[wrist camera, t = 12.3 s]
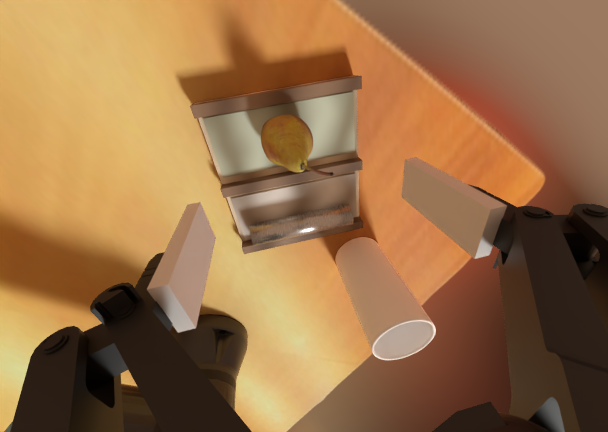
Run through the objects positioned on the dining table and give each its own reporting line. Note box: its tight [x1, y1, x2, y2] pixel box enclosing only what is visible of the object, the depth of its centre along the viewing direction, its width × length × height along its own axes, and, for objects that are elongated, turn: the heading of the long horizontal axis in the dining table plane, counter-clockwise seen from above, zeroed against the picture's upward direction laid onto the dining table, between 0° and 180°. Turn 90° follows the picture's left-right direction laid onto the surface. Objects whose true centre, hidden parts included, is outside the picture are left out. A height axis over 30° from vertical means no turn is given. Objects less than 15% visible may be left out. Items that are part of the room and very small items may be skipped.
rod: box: [249, 204, 354, 246], centre depth 34 cm, size 14×3×3 cm
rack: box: [190, 75, 363, 254], centre depth 31 cm, size 18×20×3 cm
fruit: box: [261, 114, 334, 176], centre depth 23 cm, size 6×6×12 cm
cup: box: [335, 237, 436, 360], centre depth 36 cm, size 8×8×16 cm
